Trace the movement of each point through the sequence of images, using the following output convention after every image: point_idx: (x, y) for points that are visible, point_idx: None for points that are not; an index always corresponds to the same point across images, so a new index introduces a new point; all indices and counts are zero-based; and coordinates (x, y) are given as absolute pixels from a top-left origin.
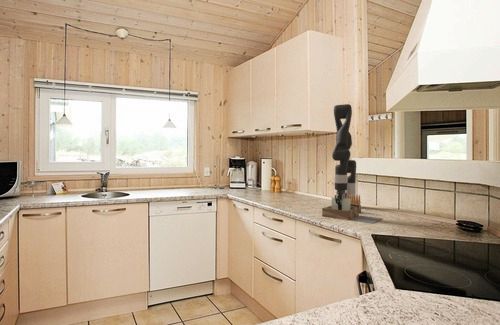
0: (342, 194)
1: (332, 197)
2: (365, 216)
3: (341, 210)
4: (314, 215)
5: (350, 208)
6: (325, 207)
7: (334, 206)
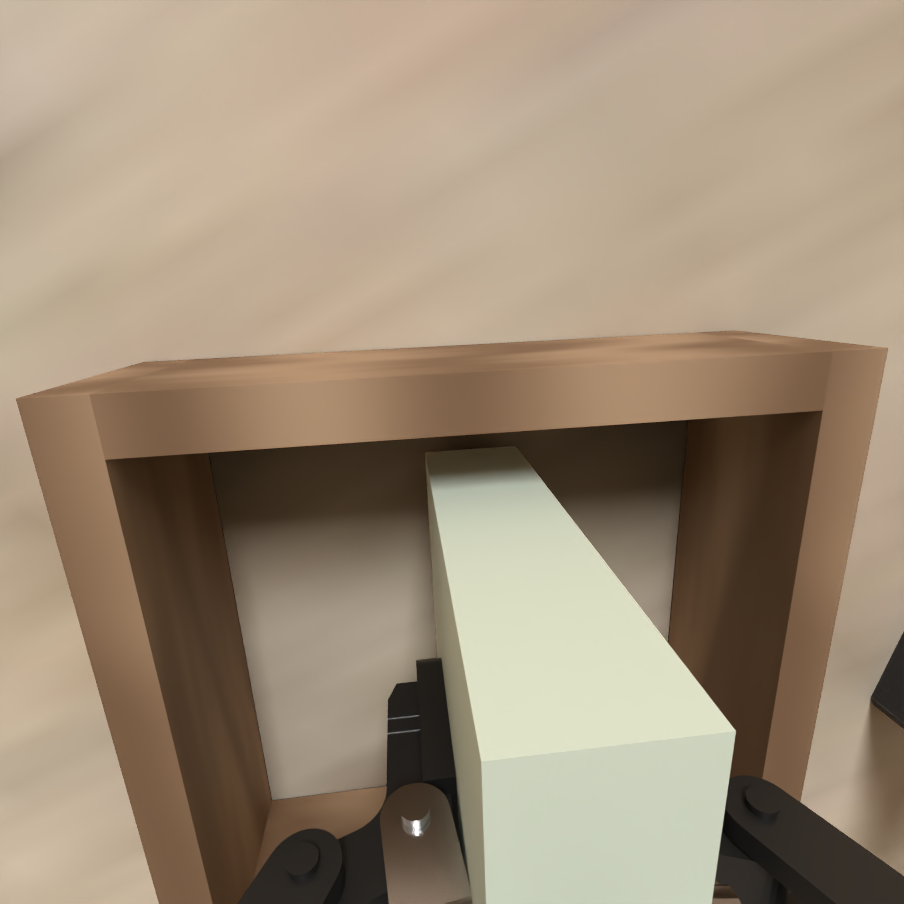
0: None
1: (497, 801)
2: None
3: (161, 899)
4: (80, 151)
5: (735, 766)
6: (220, 414)
7: (441, 611)
